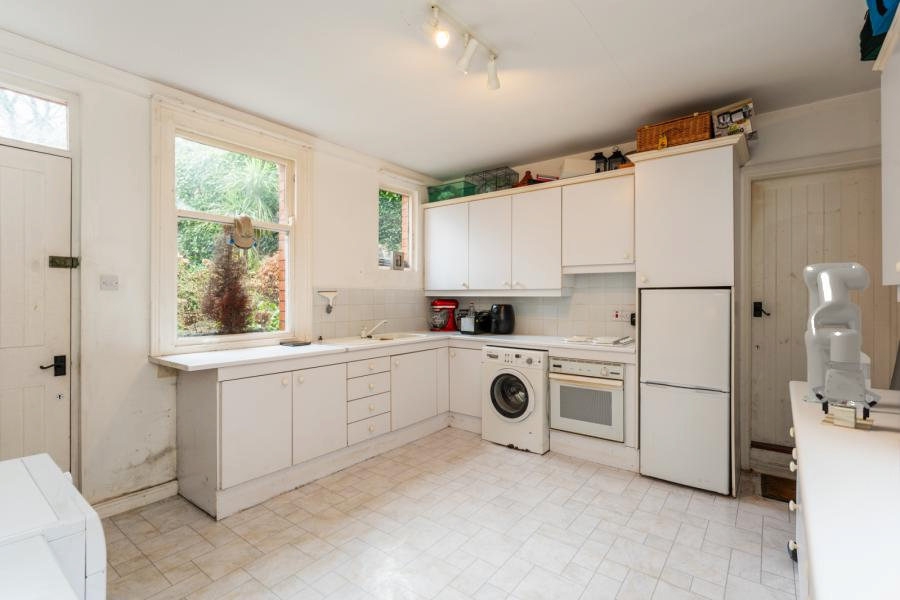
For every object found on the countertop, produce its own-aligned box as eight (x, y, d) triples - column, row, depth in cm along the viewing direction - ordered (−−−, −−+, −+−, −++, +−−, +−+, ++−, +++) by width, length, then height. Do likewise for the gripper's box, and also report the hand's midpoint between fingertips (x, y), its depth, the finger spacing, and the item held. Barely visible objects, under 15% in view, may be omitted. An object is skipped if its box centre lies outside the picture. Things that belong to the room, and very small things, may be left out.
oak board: (829, 414, 159) (829, 411, 159) (874, 421, 150) (874, 418, 150) (820, 426, 145) (820, 423, 145) (869, 434, 136) (869, 431, 136)
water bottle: (876, 414, 159) (875, 348, 159) (857, 414, 160) (857, 348, 160) (858, 409, 166) (858, 346, 166) (841, 409, 166) (841, 346, 166)
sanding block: (837, 420, 148) (837, 403, 148) (856, 423, 144) (856, 406, 144) (833, 425, 143) (833, 407, 143) (854, 428, 139) (854, 410, 139)
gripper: (810, 365, 147) (810, 413, 148) (880, 371, 134) (880, 424, 135) (813, 362, 152) (813, 409, 153) (882, 368, 139) (881, 419, 140)
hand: (845, 416), depth 144 cm, fingers open, 9 cm apart
